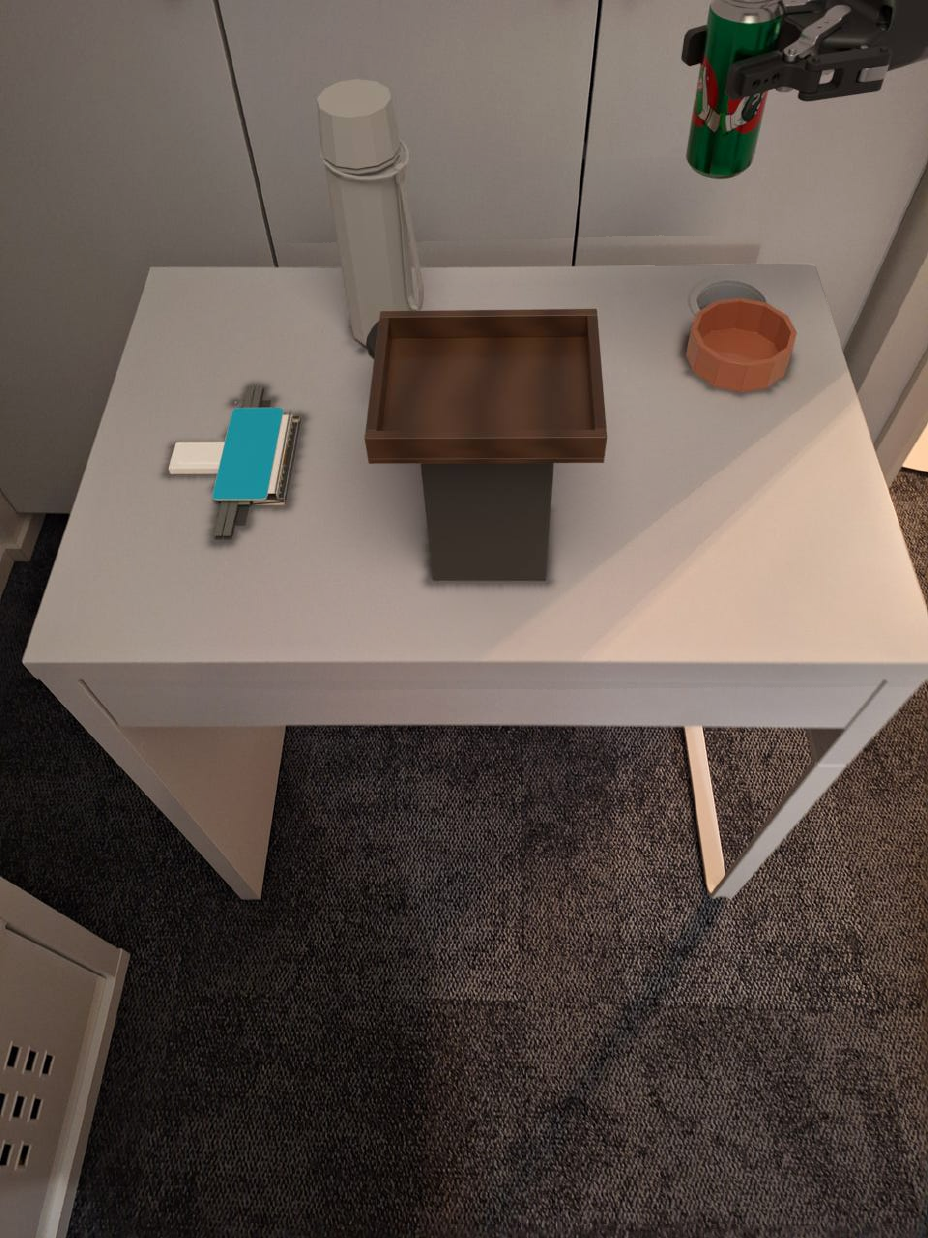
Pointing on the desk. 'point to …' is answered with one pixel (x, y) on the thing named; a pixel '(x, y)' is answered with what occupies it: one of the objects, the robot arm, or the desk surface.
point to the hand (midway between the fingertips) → (708, 65)
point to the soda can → (720, 125)
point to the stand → (488, 520)
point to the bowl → (740, 344)
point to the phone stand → (245, 460)
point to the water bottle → (368, 200)
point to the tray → (487, 388)
